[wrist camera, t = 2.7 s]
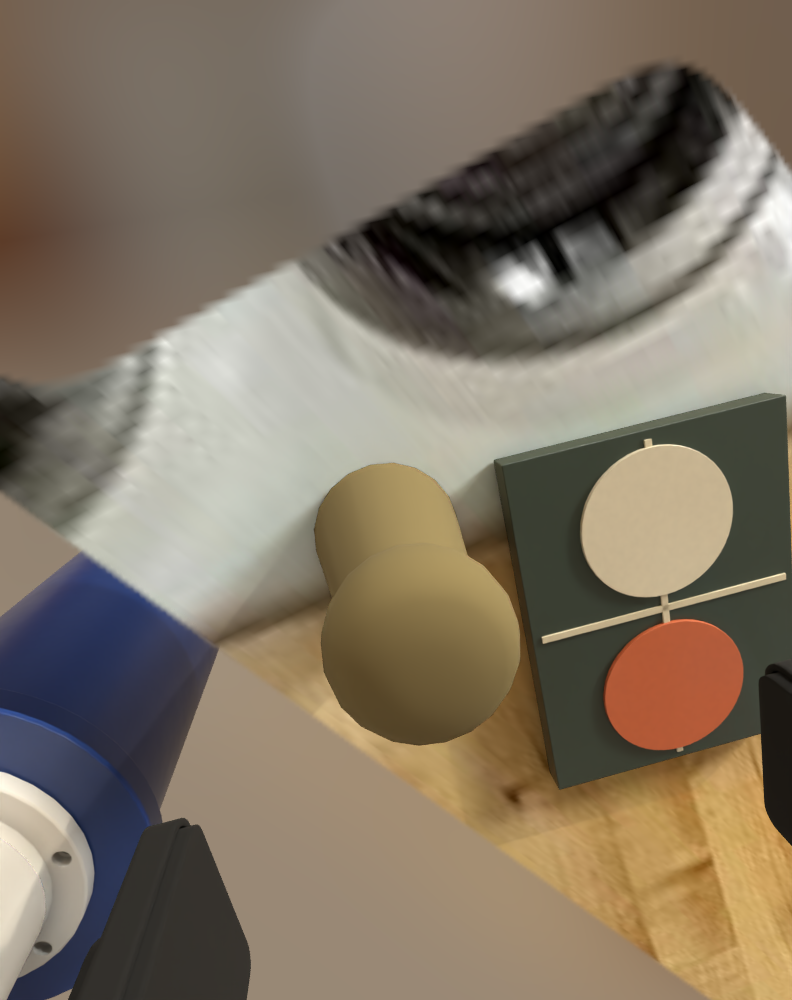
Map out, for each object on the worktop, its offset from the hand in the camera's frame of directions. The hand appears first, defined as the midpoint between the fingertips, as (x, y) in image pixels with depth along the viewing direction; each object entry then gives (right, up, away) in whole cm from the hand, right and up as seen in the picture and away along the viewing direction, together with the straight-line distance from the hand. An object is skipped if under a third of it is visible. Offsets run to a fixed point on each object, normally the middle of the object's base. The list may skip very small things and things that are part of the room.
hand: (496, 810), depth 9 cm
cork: (-2, +4, +15) cm, 16 cm away
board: (+10, +1, +17) cm, 20 cm away
